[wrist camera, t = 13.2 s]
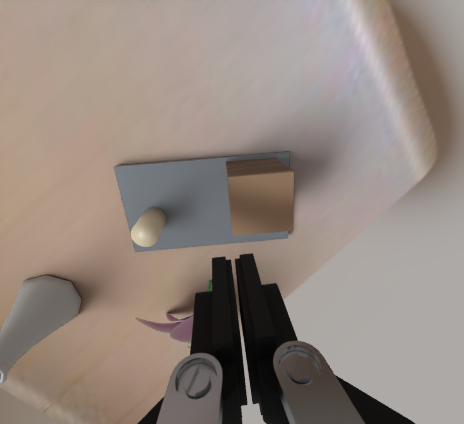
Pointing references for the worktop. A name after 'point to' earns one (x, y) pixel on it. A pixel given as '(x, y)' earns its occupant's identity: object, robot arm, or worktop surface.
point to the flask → (36, 317)
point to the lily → (175, 326)
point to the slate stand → (183, 202)
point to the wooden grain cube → (260, 196)
